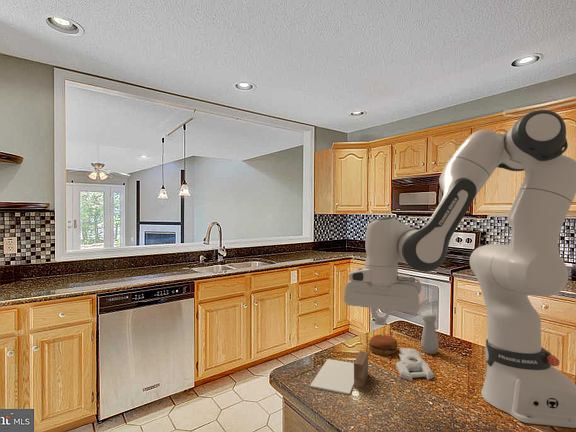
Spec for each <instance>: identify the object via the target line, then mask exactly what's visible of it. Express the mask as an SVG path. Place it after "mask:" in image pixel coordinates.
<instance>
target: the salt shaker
mask: <svg viewBox="0 0 576 432" xmlns="http://www.w3.org/2000/svg"><path fill="white" fill-rule="evenodd" d="M422 320H423V321H424V322H423V328H422V332H421V340H420V347H421V349H422V351H423V352H424V353H425V354H427V355H434V354H437V352H438V351H439V347H440V345H439V340H438V339H439V338H438V334H437V330H436V325H435V323H436V321H437V316H436V314H434V313H431V312H424V313H423V314H422Z"/></svg>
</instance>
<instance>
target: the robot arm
mask: <svg viewBox="0 0 576 432" xmlns="http://www.w3.org/2000/svg"><path fill="white" fill-rule="evenodd" d="M568 148H569V145H568V140H567V127H566V123H565V120H564V119H563V118H562V117H561V115H560V114H558V113H557V112H555V111H552V110H548V109H539V110H538V109H537V110H534V111H531V112H529V113H528V112H527V113H526V114H525V115H522V117H521V118H519V119H517V120H516V122H514V125H512V126H511V127H510V129H509V130H508V131H507V132H505V133H497V132H495V131H493V130H490V129H479V130H477V131H475V132H472V133H471V134H470V135H469V136H468V137H467V138H466V139H465V140H464V141H463V142H462V143H461V144H460V146H458V147H457V149H456V150H455V151H454V152H453V154H452V155H451V157H450V158H449V160H448V161H447V162H446V164H445V165H444V167H443V169H442V171H441V173H440V175H439V179H438V183H439V186H440V189H441V191H442V198H441V200H440V202H439V204H438V205H437V207H436V208H435V210H434V212H433V213H432V215H431V216H430V218H429V219H428V221H427V222H426V224H425V225H424V226H423V227H421V228H420V229H416V228H414V227H411V226H409V225H407V224H404V223H402V222H401V221H399V219H398V220H397V218H396V217H394V216H387V217H380V218H375V219H372V220H371V221H369V222H368V224H367V226H366V231H365V244H364V245H365V246H364V247H365V252H366V258H365V263H364V267H361V268H358V269H355V270H354V269H353V270H351V271H350V272H349V273H348V280H349V281H348V282H347V283H346V284H345V289H344V296H343V297H344V299H343V301H344V304H346V306H352V307H360V308H361V307H362V308H367V309H368V308H370V312H371V314H372V316H373V318H374V324H375V325H379V326H384V327H386V325H387V319H388V317H389V316H390V314H391V312H392V311H395V312H403V313H411V314H412V313H413V314H417V313H418V312H420V304H421V303H420V296H419V295H420V294H421V292H422V283H421V282H420V280H418V279H416V277H413V276H412V277H410V276H409V277H408V276H401V275H398V274H399V270H398V269H399V266H398V265H399V263H400V262H404V263H407V264H408V265H409V266H410V268H412V269H414V270H415V271H418V272H424V273H425V272H431V271H434V270H436V269H438V268H439V267H441V266H442V265H443V264H444V263H445V260H446V258H447V255H448V250H449V245H450V242H451V239H452V237H453V234H454V233H455V231H456V229H457V228H458V227H459V225H460V223H462V220H463V218H464V216H466V213H467V211H468V210H469V208H470V207H471V205H472V203H473V201H474V199H476V197H477V195H478V194H479V193H480V191H481V190H482V188H483V187H484V186H485V184H486V183H487V182H488V180H489V179H490V178H491V176H492V174H493V173H494V172H495V170H496V169H497V168H498V169H499V168H500V169H504V170H507V171H510V172H523V171H524V178H523V182H522V184H521V185H520V188H519V190H518V192H517V195H516V196H515V199H514V201H513V202H512V203H513V204H512V205H511V208H510V210H509V212H508V213H507V218H506V219H507V222H508V224H509V226H510V227H511V236H510V241H509V243H508V244H501V243H490V244H484V245H481V246H478V247H477V248H475V249H474V250H473V251H472V253H471V254H470V257H469V266H470V269H471V272H472V273H473V274H474V275H475V277H476V279H477V281H478V283H479V286H480V290H481V294H482V297H483V300H484V305H485V309H486V319H487V320H486V323H487V324H486V325H487V338H486V341H485V347H484V348H485V350H484V351H485V352H484V353H485V354H484V355H485V361H486V363H487V364H486V371H485V372H486V373H485V378H484V383H483V386H482V388H481V396H482V398H483V399H484V401H486V402H487V403H488V404H490V405H491V406H493V407H494V408H496V409H498V410H500V411H502V412H505V413H506V414H509V415H510V416H512V417H513V418H515V419H517V420H518V421H519V422H523V424H524V423H525V424H532V425H545V426H552V427H562V428H563V427H564V428H573V429H576V383H574V382H573V381H572V380H571V379H570V378H569V377H567V376H566V375H564V374H563V372H561V371H560V370H558V369H557V368H556V367H558V366H560V364H561V362H560V360H559V359H558V357H557V356H555V355H554V354H552V353H551V352H550V351H549V350H546V348H544V347H543V346H542V320H541V316H540V315H539V313H538V311H537V310H536V309H535V308H534V306H533V304H532V303H531V301H530V299H529V297H528V296H533V297H534V296H535V297H551V296H555V295H558V294H559V293H560V292H562V291H563V289H564V288H565V287H566V286H567V283H568V280H569V270H568V267H567V265H566V262H565V261H564V260H563V259H562V257H561V255H560V250H559V249H560V248H559V239H560V234H561V230H562V227H563V225H564V223H565V220H566V217H567V215H568V213H569V210H570V208H571V206H572V204H573V201H574V199H575V196H576V160H575V159H573V158H571V157H569V156H566V155H564V153H565V152H566V151H567V149H568ZM378 310H384V314H385V315H384V316H383V317H382V316H379V315H378V314H377V311H378Z"/></svg>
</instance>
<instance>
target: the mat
mask: <svg viewBox="0 0 576 432" xmlns="http://www.w3.org/2000/svg"><path fill="white" fill-rule="evenodd" d="M309 388H313V389H320V390H323V391H329V392H334V393H338V394H343V395H348V396H349V395H351V393H352V390H353V388H354V362H349V361H343V360H337V359H330V358H327V359H326V361H325V362H324V364H323V365H322V367H321V368H320V370H319V371H318V373H317V375H316V376H315V377H314V379H313V380H312V381H311V383H310V385H309Z"/></svg>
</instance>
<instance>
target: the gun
mask: <svg viewBox="0 0 576 432" xmlns="http://www.w3.org/2000/svg"><path fill="white" fill-rule="evenodd" d="M398 356H399V359H400V360H399V361H397V362H396V363H395V368H396V371H397V373H398V374H399V376H400V378H401V379H404V380H406V381H407V380H408V381H410V382H413V379H415V378H426V380H428V381H429V380H431V379H433V378H434V377H435V376H434V375H435V374H434V372H433V371H432V369H431V368H430V367H429V362H427V361H425V360H424V359H423V358H422V356H421V355H420V351H418V350H416V348H409V347H408V348H406V347H405V348H404V347H400V348H399V353H398Z"/></svg>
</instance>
